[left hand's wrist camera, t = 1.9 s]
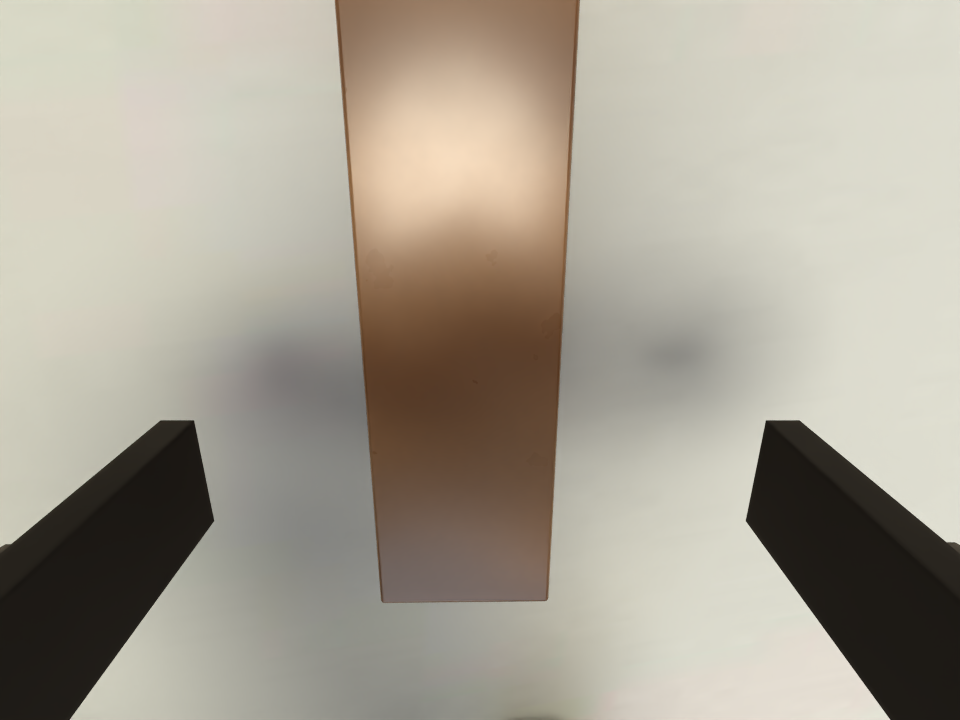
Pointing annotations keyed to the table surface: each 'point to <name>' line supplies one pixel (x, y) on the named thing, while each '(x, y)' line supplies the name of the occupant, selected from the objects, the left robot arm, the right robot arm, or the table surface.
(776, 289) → the table surface
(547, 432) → the bar
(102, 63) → the table surface
